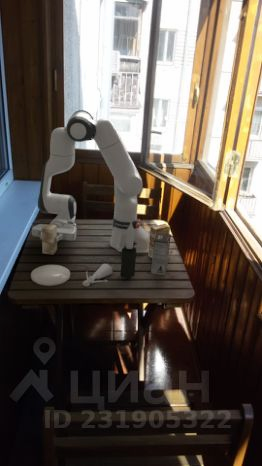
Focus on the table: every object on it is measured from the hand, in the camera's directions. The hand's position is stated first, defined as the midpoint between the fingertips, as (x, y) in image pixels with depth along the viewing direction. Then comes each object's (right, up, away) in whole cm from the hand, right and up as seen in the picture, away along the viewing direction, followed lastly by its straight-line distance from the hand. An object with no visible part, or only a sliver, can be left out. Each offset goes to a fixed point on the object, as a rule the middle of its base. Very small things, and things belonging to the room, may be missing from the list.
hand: (48, 239), depth 172 cm
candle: (+35, -16, -5) cm, 39 cm away
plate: (+3, -15, -10) cm, 18 cm away
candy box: (+49, -8, +15) cm, 52 cm away
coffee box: (+49, -14, +2) cm, 51 cm away
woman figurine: (+22, -17, -9) cm, 29 cm away
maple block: (0, -6, +3) cm, 7 cm away
